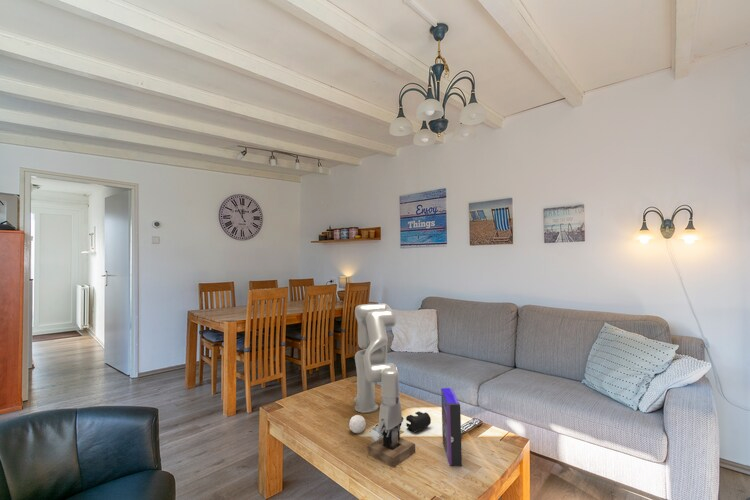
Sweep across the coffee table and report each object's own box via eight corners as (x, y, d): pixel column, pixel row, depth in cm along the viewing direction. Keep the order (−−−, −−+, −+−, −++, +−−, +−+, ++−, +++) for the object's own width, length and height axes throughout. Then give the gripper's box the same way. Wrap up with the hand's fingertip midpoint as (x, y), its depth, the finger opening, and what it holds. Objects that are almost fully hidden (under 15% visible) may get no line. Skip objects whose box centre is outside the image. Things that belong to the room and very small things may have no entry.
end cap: (416, 435, 165) (415, 420, 165) (405, 429, 171) (405, 415, 171) (431, 428, 172) (430, 414, 172) (420, 423, 177) (420, 409, 177)
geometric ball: (360, 439, 168) (362, 430, 163) (345, 431, 170) (346, 422, 166) (367, 425, 174) (369, 416, 169) (352, 417, 176) (354, 408, 171)
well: (368, 454, 151) (368, 445, 151) (390, 440, 161) (390, 432, 161) (393, 467, 141) (393, 458, 141) (415, 452, 151) (415, 443, 151)
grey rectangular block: (385, 453, 151) (384, 429, 151) (391, 449, 154) (390, 425, 154) (392, 456, 148) (391, 432, 148) (398, 452, 151) (397, 428, 151)
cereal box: (442, 442, 158) (441, 388, 159) (453, 442, 158) (452, 387, 158) (449, 466, 141) (448, 404, 141) (461, 466, 141) (460, 404, 141)
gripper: (396, 390, 160) (397, 431, 160) (369, 403, 148) (371, 447, 148) (410, 395, 155) (411, 437, 155) (383, 408, 142) (384, 454, 142)
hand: (391, 441), depth 151 cm, fingers open, 5 cm apart
